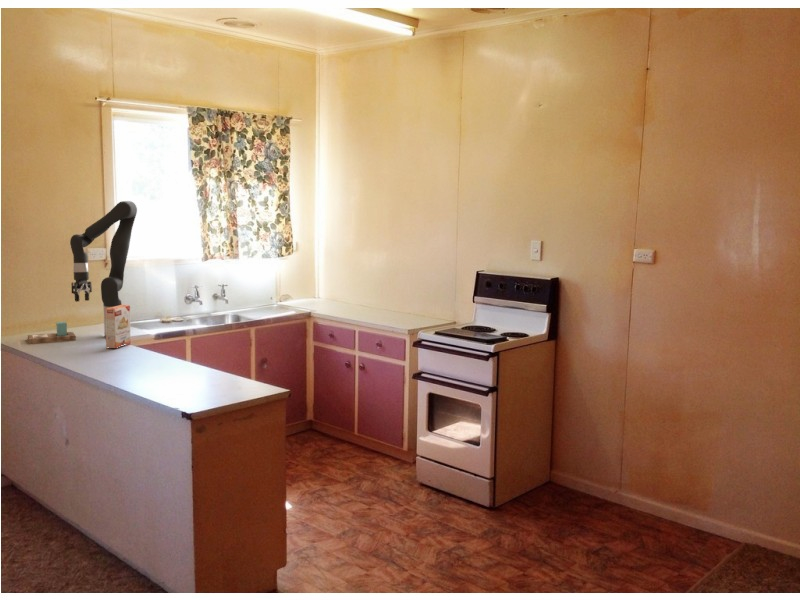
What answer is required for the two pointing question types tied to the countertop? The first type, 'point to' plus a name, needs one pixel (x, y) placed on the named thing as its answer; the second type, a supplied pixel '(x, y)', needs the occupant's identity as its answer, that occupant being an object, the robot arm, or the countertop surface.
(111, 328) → the cracker box
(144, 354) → the countertop surface
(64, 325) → the teal block
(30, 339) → the puzzle board
